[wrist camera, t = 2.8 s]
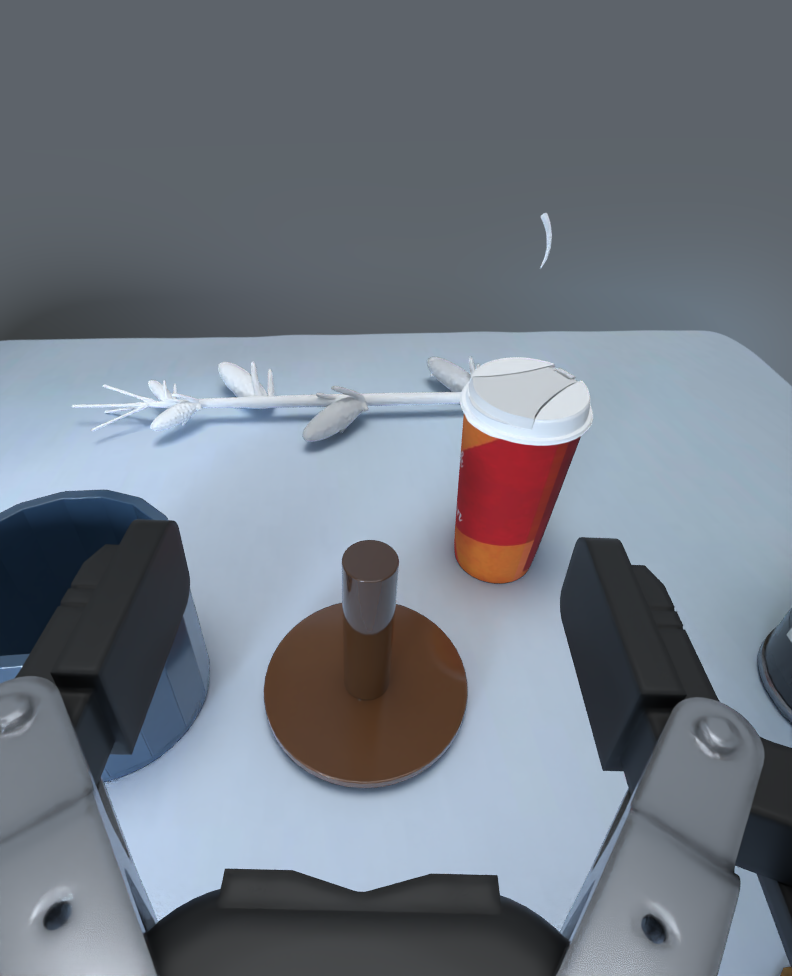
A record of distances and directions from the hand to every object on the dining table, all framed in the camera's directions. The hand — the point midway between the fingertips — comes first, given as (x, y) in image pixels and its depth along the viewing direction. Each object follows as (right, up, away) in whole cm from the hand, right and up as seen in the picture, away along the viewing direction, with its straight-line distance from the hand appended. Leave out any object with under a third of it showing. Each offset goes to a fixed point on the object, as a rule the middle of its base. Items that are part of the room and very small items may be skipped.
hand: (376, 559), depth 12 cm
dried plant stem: (-8, +8, +44) cm, 45 cm away
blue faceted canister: (-16, -10, +22) cm, 29 cm away
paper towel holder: (-1, -10, +22) cm, 24 cm away
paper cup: (+7, -3, +31) cm, 32 cm away
